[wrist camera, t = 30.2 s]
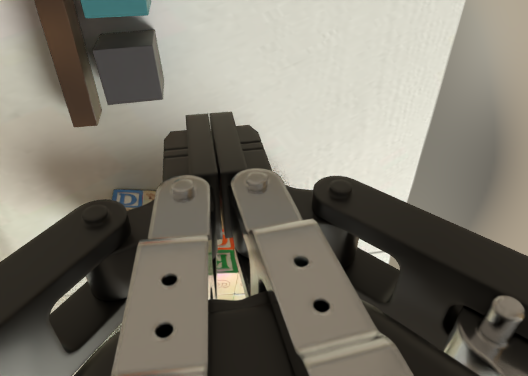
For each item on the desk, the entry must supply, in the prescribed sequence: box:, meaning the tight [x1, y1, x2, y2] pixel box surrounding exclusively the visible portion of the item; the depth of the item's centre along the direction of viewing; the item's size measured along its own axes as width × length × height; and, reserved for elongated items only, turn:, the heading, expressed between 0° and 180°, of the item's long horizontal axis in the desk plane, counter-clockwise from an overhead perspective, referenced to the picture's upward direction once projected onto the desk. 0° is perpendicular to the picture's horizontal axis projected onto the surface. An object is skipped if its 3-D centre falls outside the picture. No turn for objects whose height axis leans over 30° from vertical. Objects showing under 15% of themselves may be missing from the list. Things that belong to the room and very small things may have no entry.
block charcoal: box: [92, 30, 164, 105], centre depth 33 cm, size 4×4×4 cm
